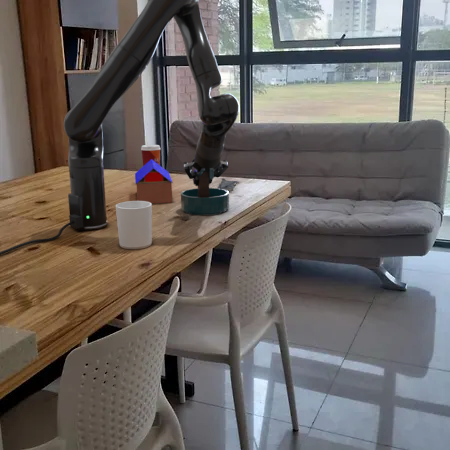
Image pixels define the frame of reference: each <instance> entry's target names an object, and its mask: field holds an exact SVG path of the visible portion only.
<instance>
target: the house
mask: <svg viewBox="0 0 450 450" xmlns="http://www.w3.org/2000/svg"><path fill="white" fill-rule="evenodd" d="M134 176H135V177H134V178H135V179H134V180H135V181H134V182H135V183H134V184H135V185H136V197H137V198H136V199H137V200H136V201H146V202H150V203H152V204H167V203H173V185H172V184H174V183H173V180H172V177H171V175H170V172H169V171H168V170H167V169H165V168H164V167H162V166H161V164H160V165H159V164H157V163H156V162H155V161H153V160H152V159H151V160H150V161H149V162H148V163H146V164H145V165H144V166H143V165H142V167H141V168H139V170H137V171H136V172H135V173H134Z"/></svg>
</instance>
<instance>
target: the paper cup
mask: <svg viewBox="0 0 450 450" xmlns="http://www.w3.org/2000/svg"><path fill="white" fill-rule="evenodd" d="M161 149H162V148H161V146H160V145H159V144H144V145H141V148H140V150H141V159H142V167H143V166H144V165H145V164H146V163H148V162H149V161H150V160H151V159H152V160H153V161H155V162H156V163H157V164H159V165H160V166H161V163H160V162H161Z"/></svg>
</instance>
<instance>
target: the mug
mask: <svg viewBox="0 0 450 450" xmlns="http://www.w3.org/2000/svg"><path fill="white" fill-rule="evenodd" d="M115 215H116V225H117V232H118V243H119V247H121V248H122V249H125V250H142V249H146V248H149V247H151V245H152V244H153V240H152V239H153V203H150V202H146V201H137V200H128V201H122V202H119V203H116V204H115Z"/></svg>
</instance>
